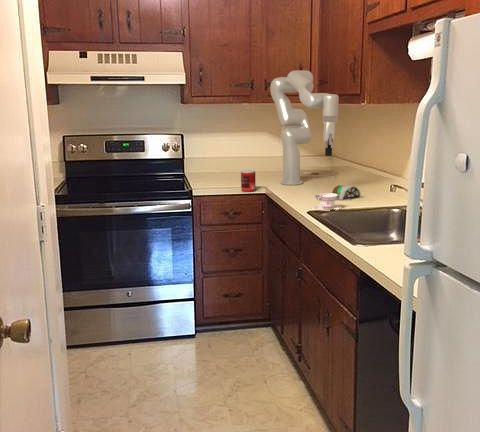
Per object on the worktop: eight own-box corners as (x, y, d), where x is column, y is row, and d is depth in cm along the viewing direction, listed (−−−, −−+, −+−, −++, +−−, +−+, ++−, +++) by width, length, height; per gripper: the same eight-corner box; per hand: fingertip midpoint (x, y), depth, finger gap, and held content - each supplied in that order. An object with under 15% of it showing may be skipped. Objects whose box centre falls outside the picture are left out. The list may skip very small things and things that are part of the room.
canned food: (255, 189, 292) (254, 169, 290) (256, 192, 285) (255, 171, 282) (241, 189, 292) (240, 169, 290) (241, 192, 284) (241, 171, 282)
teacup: (339, 205, 248) (339, 192, 247) (343, 211, 236) (344, 197, 235) (313, 205, 248) (313, 192, 247) (316, 211, 237) (316, 197, 235)
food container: (348, 181, 271) (362, 184, 263) (348, 193, 273) (361, 197, 264) (329, 184, 265) (342, 187, 257) (329, 196, 267) (342, 199, 258)
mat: (315, 195, 271) (315, 195, 271) (347, 195, 270) (347, 194, 270) (317, 200, 260) (317, 199, 259) (351, 200, 259) (351, 199, 259)
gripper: (321, 118, 279) (319, 153, 284) (324, 120, 265) (322, 157, 269) (335, 118, 279) (333, 153, 283) (339, 120, 264) (337, 158, 269)
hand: (328, 155), depth 276 cm, fingers closed
